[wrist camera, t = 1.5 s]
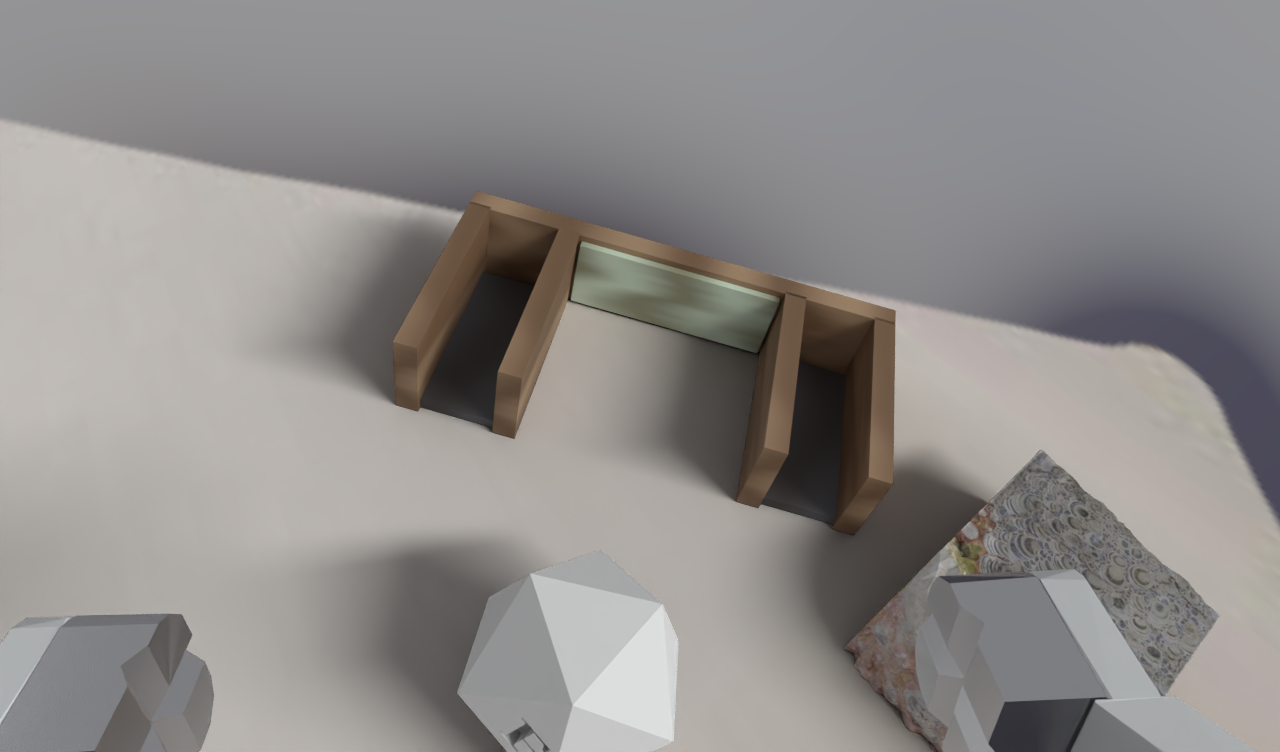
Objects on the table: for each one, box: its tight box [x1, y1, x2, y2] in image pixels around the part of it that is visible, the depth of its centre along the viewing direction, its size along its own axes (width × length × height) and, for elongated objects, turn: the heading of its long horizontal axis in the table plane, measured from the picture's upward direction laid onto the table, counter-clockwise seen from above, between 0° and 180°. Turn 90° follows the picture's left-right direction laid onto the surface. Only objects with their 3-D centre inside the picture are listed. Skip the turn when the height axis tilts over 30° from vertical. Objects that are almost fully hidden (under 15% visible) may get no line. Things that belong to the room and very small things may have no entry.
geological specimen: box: [843, 450, 1220, 752], centre depth 41 cm, size 11×6×15 cm
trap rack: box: [393, 191, 895, 535], centre depth 47 cm, size 25×12×5 cm, turn 77°
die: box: [457, 550, 678, 752], centre depth 34 cm, size 8×9×10 cm
